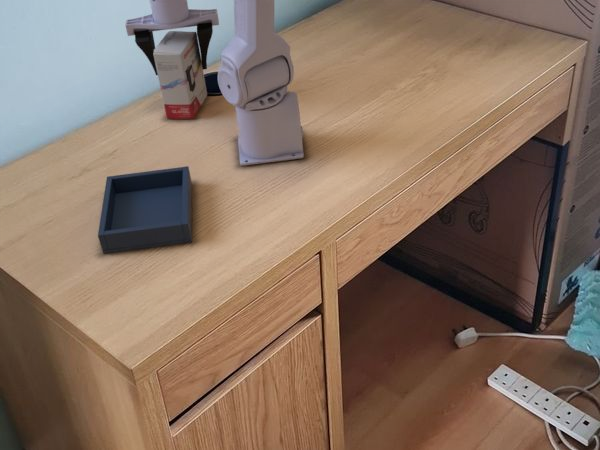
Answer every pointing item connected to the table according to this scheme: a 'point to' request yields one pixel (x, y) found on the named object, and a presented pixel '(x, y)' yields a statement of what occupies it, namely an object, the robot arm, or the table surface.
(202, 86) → the ink box
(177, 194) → the dark blue tray
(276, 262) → the table surface
